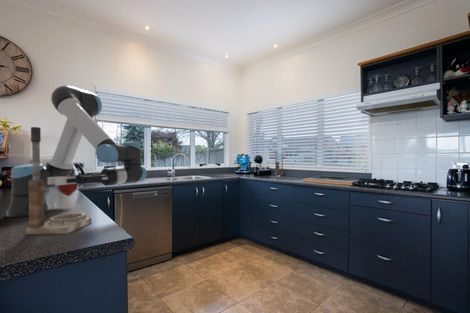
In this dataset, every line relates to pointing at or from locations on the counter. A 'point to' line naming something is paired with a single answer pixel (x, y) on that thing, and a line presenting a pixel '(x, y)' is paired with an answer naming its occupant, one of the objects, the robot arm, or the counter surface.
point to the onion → (68, 188)
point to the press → (36, 201)
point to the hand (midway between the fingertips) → (51, 181)
